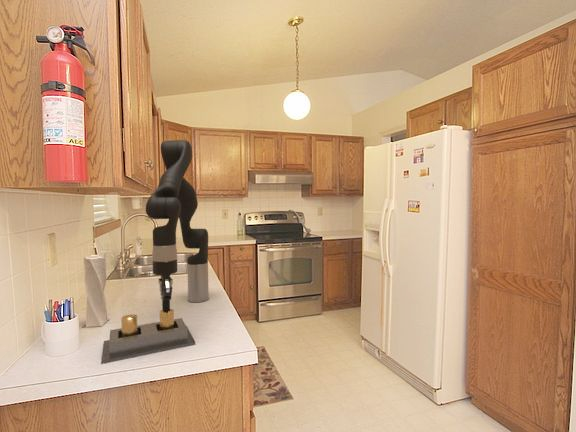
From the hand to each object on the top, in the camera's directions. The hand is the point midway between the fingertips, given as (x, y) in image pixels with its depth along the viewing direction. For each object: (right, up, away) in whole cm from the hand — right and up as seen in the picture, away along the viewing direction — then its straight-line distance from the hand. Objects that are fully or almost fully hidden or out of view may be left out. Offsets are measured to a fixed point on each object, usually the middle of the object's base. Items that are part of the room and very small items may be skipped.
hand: (166, 311), depth 105 cm
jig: (-5, -10, -2) cm, 11 cm away
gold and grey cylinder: (0, -9, 0) cm, 9 cm away
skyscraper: (-32, -10, +15) cm, 37 cm away
